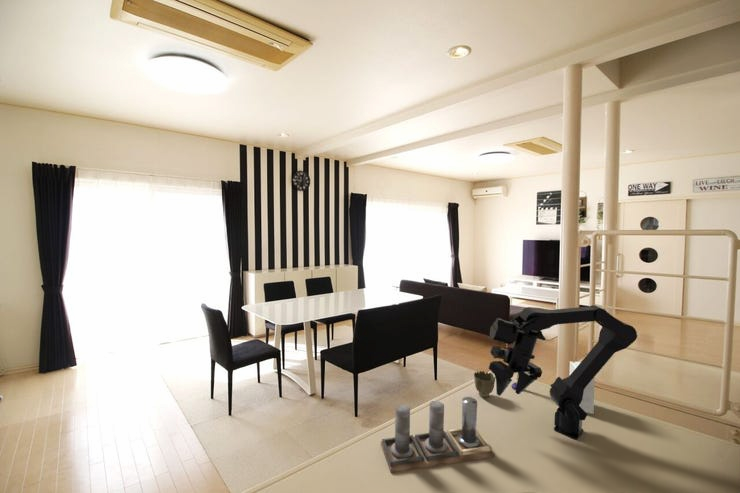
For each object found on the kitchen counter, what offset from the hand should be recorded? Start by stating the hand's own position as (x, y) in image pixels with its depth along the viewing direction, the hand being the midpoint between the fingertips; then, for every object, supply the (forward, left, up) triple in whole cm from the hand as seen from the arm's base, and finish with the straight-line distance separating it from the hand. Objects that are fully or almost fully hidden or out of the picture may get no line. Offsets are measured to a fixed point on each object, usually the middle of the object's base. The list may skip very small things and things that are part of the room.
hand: (507, 394), depth 104 cm
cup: (+14, -12, -11) cm, 21 cm away
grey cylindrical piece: (+3, +17, -10) cm, 20 cm away
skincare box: (-12, -31, -11) cm, 35 cm away
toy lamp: (+8, -27, -11) cm, 30 cm away
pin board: (+8, +26, -11) cm, 29 cm away
